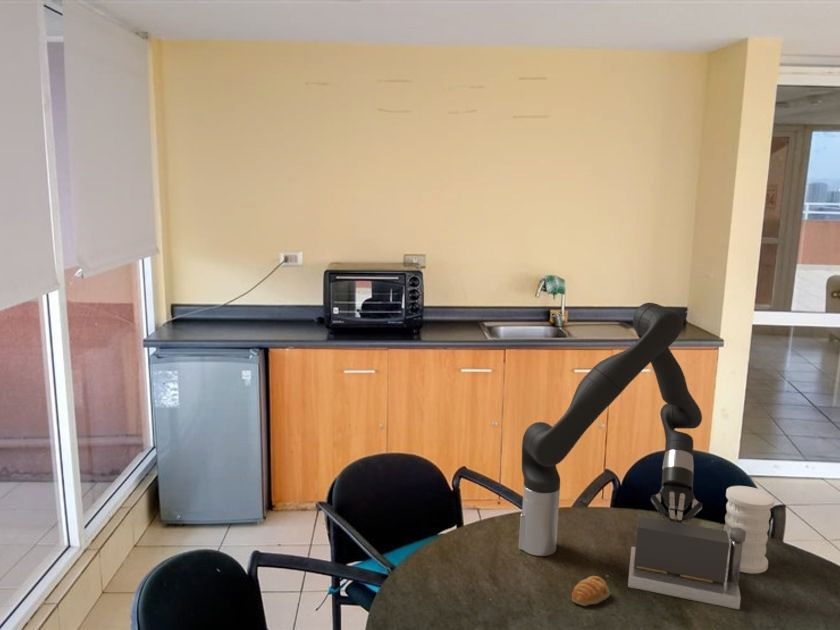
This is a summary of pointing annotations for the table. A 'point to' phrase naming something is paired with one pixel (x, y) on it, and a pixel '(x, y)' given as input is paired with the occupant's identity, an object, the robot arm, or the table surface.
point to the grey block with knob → (684, 548)
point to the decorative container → (749, 524)
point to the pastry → (590, 591)
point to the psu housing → (691, 582)
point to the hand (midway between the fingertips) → (674, 536)
